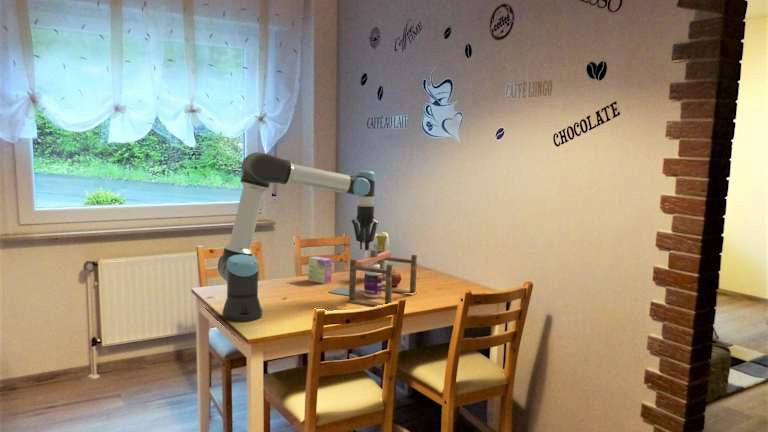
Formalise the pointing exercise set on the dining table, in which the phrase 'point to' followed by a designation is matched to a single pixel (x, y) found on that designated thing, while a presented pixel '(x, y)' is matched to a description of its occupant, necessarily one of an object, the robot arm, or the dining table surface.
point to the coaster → (344, 291)
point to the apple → (395, 278)
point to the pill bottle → (373, 282)
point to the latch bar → (372, 258)
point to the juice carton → (382, 247)
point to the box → (320, 269)
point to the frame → (388, 272)
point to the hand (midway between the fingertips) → (364, 256)
